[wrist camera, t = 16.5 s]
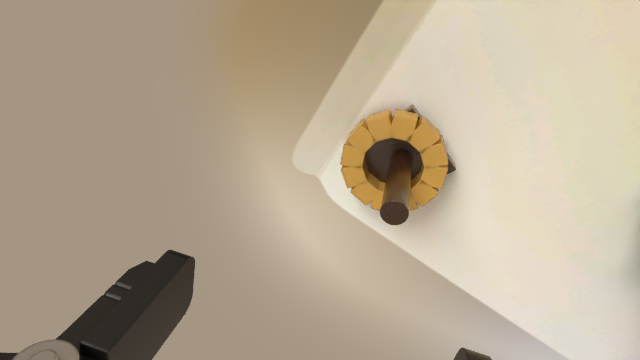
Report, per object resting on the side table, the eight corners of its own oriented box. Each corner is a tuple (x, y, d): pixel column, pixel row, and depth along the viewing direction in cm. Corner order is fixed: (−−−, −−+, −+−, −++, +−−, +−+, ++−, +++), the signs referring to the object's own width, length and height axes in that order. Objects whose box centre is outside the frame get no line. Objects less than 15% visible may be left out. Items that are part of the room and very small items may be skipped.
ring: (325, 159, 39) (321, 167, 37) (392, 88, 34) (390, 93, 33) (395, 219, 40) (394, 230, 38) (468, 157, 36) (470, 166, 34)
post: (350, 145, 39) (325, 199, 29) (412, 104, 36) (408, 148, 26) (392, 200, 40) (381, 268, 30) (455, 164, 37) (466, 228, 27)
